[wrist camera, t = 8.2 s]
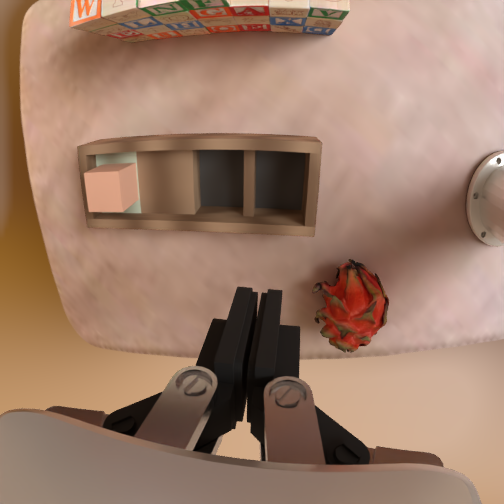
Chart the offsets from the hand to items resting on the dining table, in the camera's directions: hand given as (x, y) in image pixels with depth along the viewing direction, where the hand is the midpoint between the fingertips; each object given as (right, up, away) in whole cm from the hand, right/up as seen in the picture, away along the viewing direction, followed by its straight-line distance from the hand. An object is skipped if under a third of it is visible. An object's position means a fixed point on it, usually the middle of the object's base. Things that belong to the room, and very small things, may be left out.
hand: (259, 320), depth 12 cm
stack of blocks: (-3, +28, +14) cm, 31 cm away
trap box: (-6, +11, +22) cm, 25 cm away
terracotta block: (-14, +10, +20) cm, 26 cm away
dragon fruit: (+11, -2, +27) cm, 29 cm away
